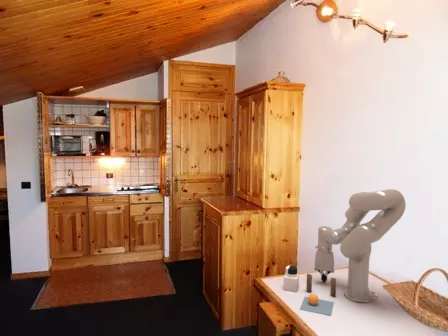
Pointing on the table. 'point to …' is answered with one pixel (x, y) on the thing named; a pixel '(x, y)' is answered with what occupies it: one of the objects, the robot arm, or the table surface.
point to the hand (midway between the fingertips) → (324, 281)
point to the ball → (313, 299)
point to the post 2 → (333, 287)
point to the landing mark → (317, 306)
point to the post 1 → (309, 283)
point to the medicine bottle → (291, 279)
